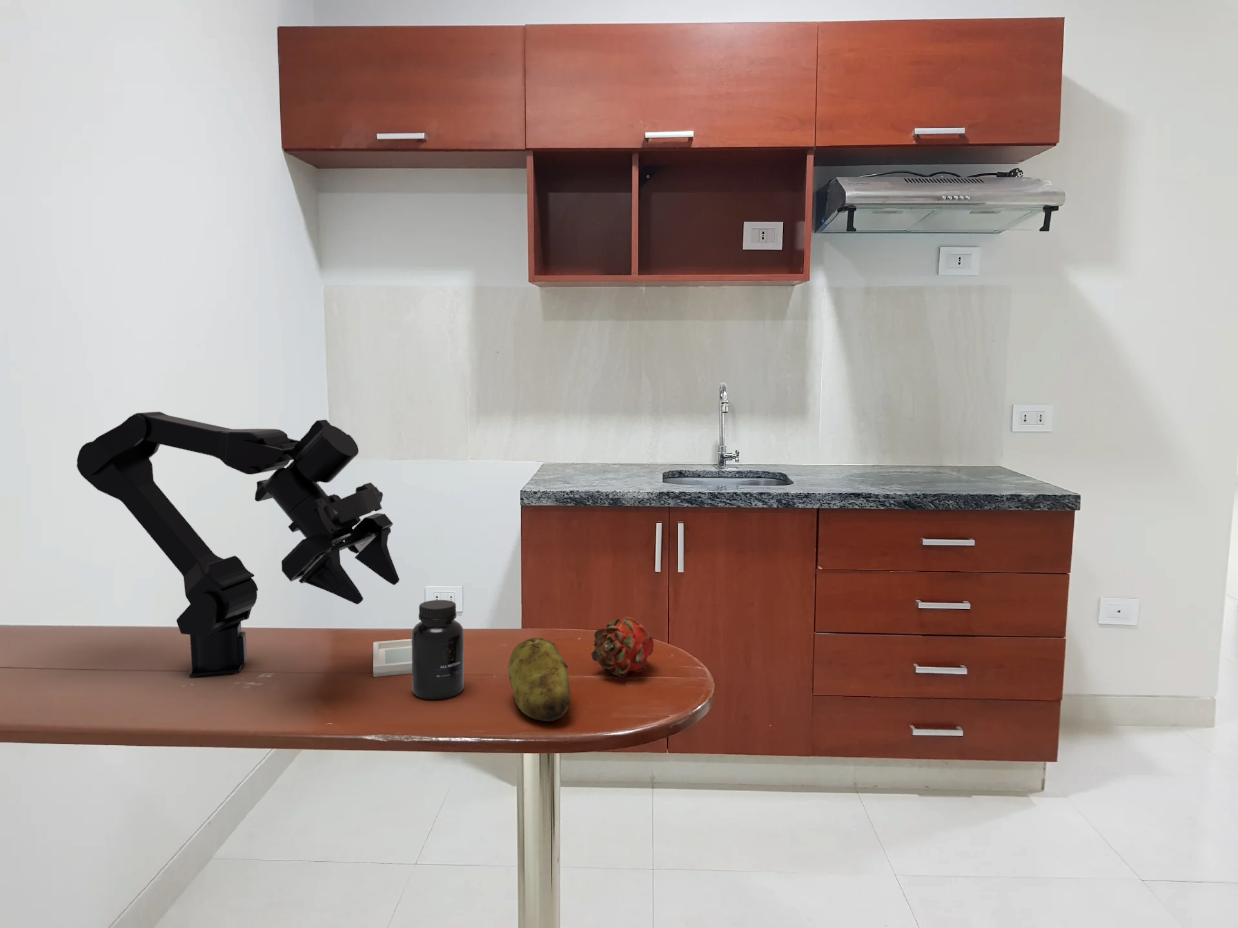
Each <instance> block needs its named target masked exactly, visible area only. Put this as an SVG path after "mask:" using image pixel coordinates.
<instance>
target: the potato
mask: <svg viewBox="0 0 1238 928" xmlns="http://www.w3.org/2000/svg"><path fill="white" fill-rule="evenodd" d="M507 666H508V667H507V668H508V670H507V671H508V678H509V679H508V680H509V683H510V687H511V689H512V692H513V697H514V702H515V704H516V705H517V707H518V708H519V710H520V711H521V713H523V714H524V715H525V716H527V717H529V718H531V719H534V720H537V721H543V722H548V723H551V722H553V721H556V720H558V719H560V718H562V717H563V716H564V715H565V714H566V712H567V711H568V709H569V707H570V704H571V690H570V689H571V688H570V678H569V677H570V676H569V671H568V670H569V669H568V665H567V662H566V660H565V659H564V657H563V656H561V655H560V651H559V650H558V648H557V645H556V643H554V642H552V641H550V640H547V639H545V638H543V637H542V638H540V637H532V638H529V639H526V640H523V641H522V642H519V643H518V644H517V645H516V646H515V647H514V649H513V650H512V652H511V655H510V658H509V660H508V665H507Z"/></svg>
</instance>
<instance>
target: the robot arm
mask: <svg viewBox="0 0 1238 928" xmlns="http://www.w3.org/2000/svg"><path fill="white" fill-rule="evenodd" d="M161 445H162V446H167V447H171V448H175V449H179V450H185V451H187V452H193V453H198V454H201V455H202V454H203V455H206V456H210V457H214V458H216V459H219V460H220V461H221V463H223V464H224V465H226V466H227V467H229V468H231V469H233V470H236V471H238V472H240V473H242V474H245V475H257V474H261V473H268V472H272V471H274V472H273V473H272V474H271V475H270V477H269V478H267V479H263V480H258V481H256V491H255V493H254V501H256V502H258V503H259V502H261V501H266V500H270V499H273V500H274V501H275V503H276V504H277V505H278V506H279V507H280V508H281V510H282V511H283V512H284V513H285V515H286V516H287V517H288V518H289V520H290V521H291V523H290V524H289V525H288V526H287V528H288V529H289V530H290V531H291V532H292V533H296V532H298V531H299V532H301V534H302V535H303V536H304V539H301V541H300V542H299V543H297V545H295V547H294V548H293V549H291V550H290V552H289V553H288V554H286V556H284V558H282V560H281V572H282V573H283V574H284V575H285V577H286V578H287V579H288V581H289V582H293V581H296V580H298V582H299V583H300V584H307V585H310V586H313V587H316V588H319V589H321V590H324V591H325V592H329V593H331V594H333V595H335V596H338V597H340V598H342V599H344V600H347V601H348V602H351V603H353V604H355V605H359V604H361V603H362V602H363V601H364V597H363V596H362V594H361V591H359V588H358V587H357V586H356V584H355V583H354V581H353V579H352V578H351V577H350V575H349V574H348V573H347V571H346V570H345V569H344V567H343V566H342V564H341V555H340V554H341V553H340V552H341V551H342V550H345V549H348V550H349V551H350V552H352V553H354V554H356V556H355V555H354V559H355V560H357V561H359V562H360V563H361V564H363V565H364V566H366V567H367V568H368V569H370V570H371V571H372V572H373V573H375V574H377V575H378V576H379V577H380V578H381V579H383V580H385V582H388V583H390V584H391V585H393V586H395V585H397V584H398V583H399V582H400V577H399V575H398V571H397V570H396V567H395V565H394V561H393V559H392V557H391V554H390V551H389V547H388V539H389V535H390V534H391V532H392V529H391V528H392V527H393V525H394V523H393V521H391V519H390V518H389V517H388V515H386V513H380V512H378V511H380V510H382V509H383V507H382V504H381V502H382V501H383V497H384V494H383V492H382V491H380V490H379V489H378V487H377V486H375V484H373V483H372V482H367V483H363V484H362V485H360V486H357V487H356V488H355V492H354V493H352V494H350V495H347V496H345V497H342V498H341V497H340V496H339V495H338V494H330V495H328V494H327V493H326V492H325V490H324V489H323V488H322V487H321V485H320V484H319V483H325V484H327V483H330V482H332V481H333V480H334V479H335V478H336V477H337V476H338V475H339V474H340V473H341V472H342V471H343V470H344V469H345V468H346V467H347V466H348V464H350V463H351V461H353V460H354V459H355V457H357V456H358V454H359V447H358V443H357V442H356V441H355V439H354V438H353V437H352V436H351V435H350V434H347V433H346V432H345V431H343V430H342V429H340V428H339V427H337V426H334V425H331V423H330V422H329V421H328V420H327V419H318V420H316V421H315V422H314V423H313V424H311V426H310V428H309V430H308V431H307V432H306V433H305V434H304V435H303V437H301V438H300V440H298V439H294V438H289V436H288V434H287V433H286V432H285V431H283V430H281V429H278V428H229V427H224V426H219V425H216V424H215V425H214V424H210V423H206V422H202V421H197V420H191V419H187V418H184V417H178V416H173V415H168V414H167V413H164V412H162V411H149V412H147V411H146V412H136V413H134V414H132V415H131V416H129V417H128V418H126V420H124V421H123V422H122V423H121V424H119V425H117V426H115V427H114V428H112V429H110V430H108V431H106V432H104V433H103V434H101V435H99V436H97V437H96V438H95V439H93V440H91V441H89V442H86V443H85V444H83V445H82V446H81V448H80V449H79V451H78V455H77V459H76V468H77V470H78V472H79V474H80V475H81V476H82V478H83V479H85V481H87V482H88V483H89V484H90V485H92V487H94V488H95V489H97V491H99V492H100V493H104V494H105V495H108V496H110V497H112V498H115V499H116V500H119V501H120V502H121V503H123V504H122V505H124V506H125V508H127V510H128V511H129V513H131V515H132V516H133V517H134V518H135V519H136V521H137V522H138V523H139V524H140V525H141V527H142V528H143V529H144V530H145V531H146V533H147V534H148V535H149V537H150V538H152V540H153V541H154V542H155V544H156V545H157V546H158V548H160V550H161V551H162V552H163V554H164V555H165V556H166V557H167V558H168V559H169V561H171V563H172V564H173V565H174V567H175V568H176V569H177V570H178V571H179V573H180V574H181V575H182V578H183V585H184V595H185V597H186V599H187V601H188V603H189V605H188V606H187V607H186V608H185V609H184V611H182V613H181V614H180V615H179V616H178V617H177V618H176V624H177V626H178V629H179V633H180V634H181V635H189V641H190V643H189V644H190V657H191V669H190V671H189V672H188V677H190V678H192V677H205V676H206V677H207V676H214V675H215V676H216V675H226V674H237V673H240V671H241V669H242V667H243V666H244V664H245V663H246V661H247V659H248V655H247V654H248V651H247V650H248V649H247V634H246V633H247V632H245V631H242V622H243V621H246V620H249V619H250V615H251V612H252V608H253V607H254V606H255V605H256V602H257V599H258V592H259V588H258V586H257V583H256V581H255V580H254V579H253V577H255V574H254V573H253V572H251V571H250V570H248V568H246V567H245V565H244V563H243V561H242V560H241V559H240V558H239V557H238V556H236V555H233V556H229V557H227V558H223V557H221V556H219V555H216V554H215V552H213V550H212V549H211V548H210V547H209V546H208V545H207V543H206V542H205V541H204V540H203V539H202V537H201V536H200V535H199V534H198V533H197V532H196V530H195V529H194V527H192V525H191V524H190V523H189V522H188V521H187V520H186V518H185V517H184V516H183V515H182V514H181V512H180V511H179V510H178V509H177V507H176V506H175V505H174V504H173V503H172V501H171V500H170V499H169V498H168V497H167V495H166V494H165V493H164V491H162V489H161V488H160V487H159V486H158V485H157V483H156V481H155V480H154V468H153V463H152V461H151V459H150V458H151V457H153V456H154V455H155V454H156V453H157V452H158V450H159V448H160V446H161ZM290 461H291V462H290ZM288 464H289V465H288ZM374 511H375V512H377V513H373V514H371V513H372V512H374ZM368 514H370V515H369V516H366V515H368ZM363 516H365V517H363ZM360 517H363V518H362V519H361V518H360Z"/></svg>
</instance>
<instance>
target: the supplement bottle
mask: <svg viewBox="0 0 1238 928" xmlns="http://www.w3.org/2000/svg"><path fill="white" fill-rule="evenodd" d="M418 605H419V607H418V620H420V622H418V623H417V624H415V626H413V629H412V630H411V639H412V674H411V689H412V692H413V694H414V695H415V696H416V697H418V698H421V699H424V700H445V699H450V698H453V697H456V696H458V695H459V694H460V693H461V692H462V691H463V689H464V685H465V673H464V671H465V668H464V667H465V666H464V665H465V663H464V662H465V659H464V658H465V656H464V655H465V654H464V653H465V647H464V646H465V645H464V643H465V641H464V639H465V637H464V635H465V634H464V633H465V632H464V627H463V626H462V625H461V623H460V622H458V621H457V620H456V618H457V604H456V602H454V601H452V600H447V599H446V600H445V599H432V600H426V601H423V602H422V603H420V604H418Z"/></svg>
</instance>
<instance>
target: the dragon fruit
mask: <svg viewBox="0 0 1238 928" xmlns="http://www.w3.org/2000/svg"><path fill="white" fill-rule="evenodd" d="M593 636H594V640H593V642H594V644H593V647H594V649H593V651H592V652H591V653H590V655H591V659H592V660H593V661H595V662H598V663H599V666H601V668H604V669H607V670H608V671H609V672H610V673H611V674H612V675H615V676H617V677H620V678H624V677H626V676H627V675H628V674H629V672H630V671H632V672H634V673H638V672H642V673H644V672H645V671H646V670H647V668H648V657H650V656H651V655H652V653H653V652H654V646H655V645H654V643H655V642H654V640H653V637H652V636H651V634H650V633H649V631H647V629H646V628H645V627H644V625H643V624H641V623H640V622H639V621H638V620H637V619H635V618H633V617H631V616H624V617H623V618H622V619H619V618H616V619H614V620H612V621H610V622H609V623H607V624H606V627H605V628H601V629H598V630H595V632H594V635H593Z"/></svg>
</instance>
